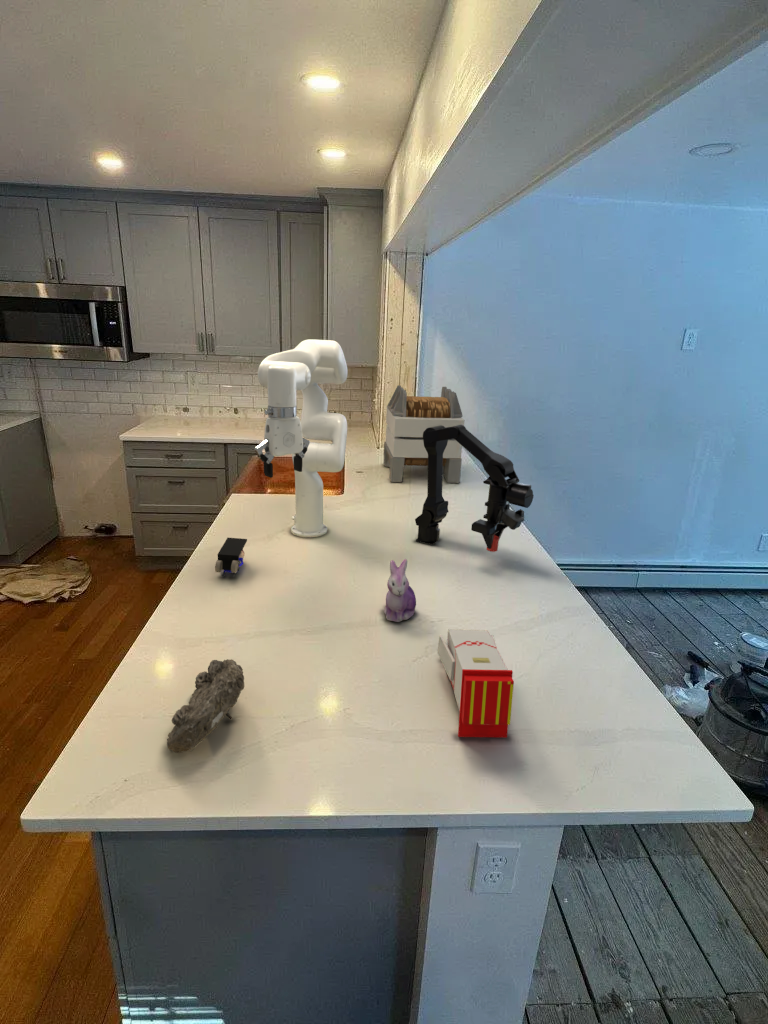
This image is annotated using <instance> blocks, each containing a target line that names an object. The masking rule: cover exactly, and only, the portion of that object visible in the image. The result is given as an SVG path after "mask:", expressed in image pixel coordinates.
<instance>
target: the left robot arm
mask: <svg viewBox="0 0 768 1024" xmlns="http://www.w3.org/2000/svg"><path fill="white" fill-rule="evenodd" d="M348 369H349V368H348V364H347V361H346V357H345V354H344V351H343V348H342V347H341V344H340V343H339V342H337V341H335V340H332V339H331V340H330V339H311V338H310V339H304V340H302V341H300V342H299V343H298V344H297V345H296V346H295V347H294V348H292V349H288V350H284V351H279V352H276V353H272V354H270V355H267V356H266V357H265V358H264V359H263V360H262V361H261V362H260V364H259V366H258V369H257V380H258V382H259V384H260V385H261V387H263V388H265V389H267V409H265V410H264V415H265V416H268V417H266V419H265V425H264V432H263V433H264V434H263V435H264V436H263V438H264V439H263V441H262V442H261V443H259V444H257V446H255V447H254V452H255V453H256V455H257V458H258V459H259V460H260V461H261V462H263V474H264V476H265V477H268V478H270V479H271V478H274V465H273V463H272V461H273V460H274V458H275V457H284V456H290V455H291V459H292V460H291V461H292V465H293V471H294V499H295V501H294V502H295V504H294V505H295V507H294V508H295V512H294V513H295V514H294V515H292V516H291V520H292V521H293V522H294V524H293V525H292V526H291V528H290V532H291V534H292V535H295V536H297V537H301V538H317V537H322V536H325V534H327V533H328V526H327V525H326V524H324V482H323V479H322V477H321V475H320V474H319V473H318V472H322V473H340V472H341V471H342V470H343V469H344V465H345V462H346V461H345V460H346V449H347V439H348V420H347V417H346V416H345V415H344V414H342V413H339V412H328V406H329V399H328V396H327V395H326V393H325V391H324V390H323V389H322V387H320V386H319V384H320V385H336V386H339V385H343V384H344V383H346V381H347V378H348ZM297 391H301V395H302V407H301V416H298V415H297V413H298V411H297V408H298V407H297V405H298V402H297ZM311 440H313V441H311ZM315 441H324V442H315ZM325 442H327V443H325ZM328 442H331V443H328ZM263 450H264V452H263Z"/></svg>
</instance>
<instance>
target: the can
mask: <svg viewBox="0 0 768 1024" xmlns="http://www.w3.org/2000/svg"><path fill="white" fill-rule="evenodd" d="M499 543H500V539H499V537H498V536H496V535H494V539H493V543H492V547H491V549H489V548H487V547H486V550H487V551H488V552H492V553H495V552H497V551H498V549H499Z"/></svg>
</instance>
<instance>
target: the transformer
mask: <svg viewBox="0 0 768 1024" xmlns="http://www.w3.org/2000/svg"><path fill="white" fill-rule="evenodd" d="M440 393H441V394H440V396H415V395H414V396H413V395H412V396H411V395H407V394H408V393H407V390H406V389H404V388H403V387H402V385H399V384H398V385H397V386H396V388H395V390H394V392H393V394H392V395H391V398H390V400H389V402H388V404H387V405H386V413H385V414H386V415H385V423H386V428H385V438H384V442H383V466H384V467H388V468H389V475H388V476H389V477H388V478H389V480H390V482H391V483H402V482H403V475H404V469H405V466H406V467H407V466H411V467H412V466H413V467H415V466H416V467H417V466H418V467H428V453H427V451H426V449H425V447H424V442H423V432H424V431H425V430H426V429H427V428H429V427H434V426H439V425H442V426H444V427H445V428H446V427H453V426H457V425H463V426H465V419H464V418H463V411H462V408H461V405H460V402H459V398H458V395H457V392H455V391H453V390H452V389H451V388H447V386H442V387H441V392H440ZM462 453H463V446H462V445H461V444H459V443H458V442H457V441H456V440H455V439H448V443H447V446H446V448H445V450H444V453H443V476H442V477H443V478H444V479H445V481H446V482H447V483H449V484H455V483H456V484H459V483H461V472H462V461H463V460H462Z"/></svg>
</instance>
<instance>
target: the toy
mask: <svg viewBox="0 0 768 1024" xmlns="http://www.w3.org/2000/svg"><path fill="white" fill-rule="evenodd" d="M446 640H447V643H446V641H445V639H444V636H443V635H442V634H439V637H438V646H437V656H438V657H439V659H440V661H441V663H442V666H443V668H444V670H445V672H446V674H447V677H448V679H449V681H450V684H451V687H452V690H453V693H454V697H455V701H456V705H457V708H458V711H459V714H458V715H459V716H458V730H457V731H458V732H457V737H458V738H508V731H509V726H510V725H511V717H512V707H513V697H514V696H513V695H514V684H515V680H514V679H513V673H514V671H513V670H512V669H508V667H507V665H506V662H505V661H504V659H503V658H502V655H501V653H500V651H499V649H498V647H497V643H496V639H495V637H494V635H493V634H491V632H490V631H489V629H467V628H466V629H465V628H463V629H461V628H460V629H459V628H448V630H447V639H446Z"/></svg>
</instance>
